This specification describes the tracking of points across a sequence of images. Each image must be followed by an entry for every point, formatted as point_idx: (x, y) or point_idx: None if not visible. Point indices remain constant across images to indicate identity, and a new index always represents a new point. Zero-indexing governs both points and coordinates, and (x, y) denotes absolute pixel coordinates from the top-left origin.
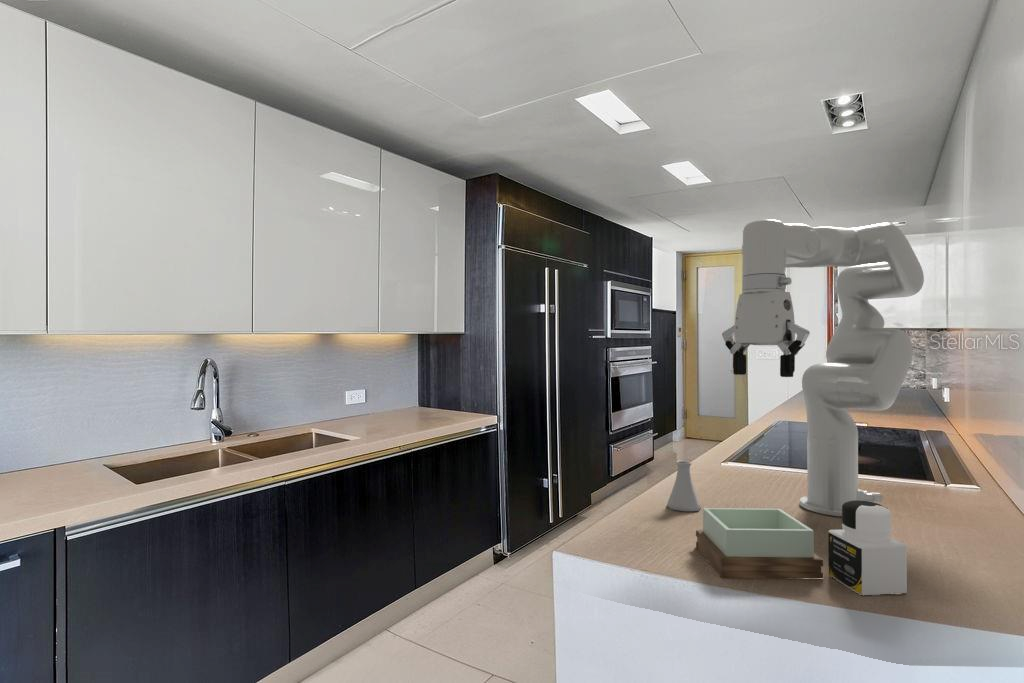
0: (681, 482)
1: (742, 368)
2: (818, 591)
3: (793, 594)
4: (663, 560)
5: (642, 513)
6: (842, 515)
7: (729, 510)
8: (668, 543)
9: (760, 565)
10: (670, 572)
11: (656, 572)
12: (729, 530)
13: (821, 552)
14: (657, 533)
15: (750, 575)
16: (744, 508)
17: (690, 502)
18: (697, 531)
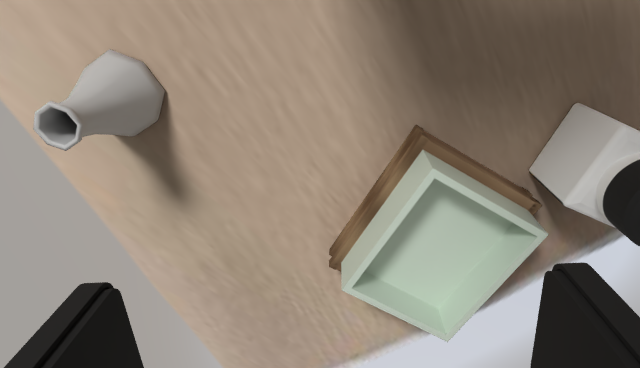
0: (103, 129)
1: (107, 365)
2: None
3: (521, 266)
4: (343, 319)
5: (133, 203)
6: (616, 226)
7: (374, 255)
8: (293, 271)
9: None
10: (379, 337)
11: (369, 350)
12: (450, 337)
13: (470, 78)
14: (246, 255)
15: None
16: (388, 229)
17: (147, 109)
18: (335, 269)
